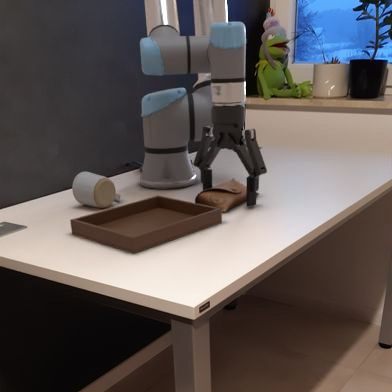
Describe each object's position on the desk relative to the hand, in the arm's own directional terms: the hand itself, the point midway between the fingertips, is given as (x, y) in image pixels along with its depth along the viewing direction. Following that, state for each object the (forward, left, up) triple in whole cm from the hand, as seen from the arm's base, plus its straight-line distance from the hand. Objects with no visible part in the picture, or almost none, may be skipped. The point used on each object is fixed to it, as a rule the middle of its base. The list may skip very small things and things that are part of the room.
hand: (228, 201), depth 129 cm
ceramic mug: (-24, -20, 0) cm, 31 cm away
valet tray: (0, -26, 0) cm, 26 cm away
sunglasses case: (0, 0, 0) cm, 0 cm away
